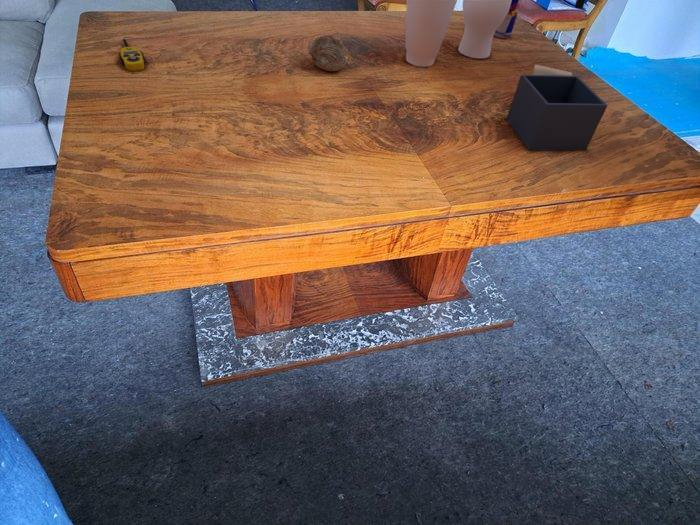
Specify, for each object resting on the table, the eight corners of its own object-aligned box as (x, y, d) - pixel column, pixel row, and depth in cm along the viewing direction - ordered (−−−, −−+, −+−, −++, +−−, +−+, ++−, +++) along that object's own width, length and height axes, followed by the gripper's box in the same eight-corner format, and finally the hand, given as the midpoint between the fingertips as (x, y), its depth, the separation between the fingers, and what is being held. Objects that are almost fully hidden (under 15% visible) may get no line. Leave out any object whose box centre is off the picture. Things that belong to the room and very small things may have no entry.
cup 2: (465, 62, 126) (482, -7, 115) (444, 44, 133) (459, -23, 122) (504, 60, 129) (524, -8, 118) (481, 42, 136) (499, -24, 125)
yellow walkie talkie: (122, 63, 105) (111, 35, 114) (124, 72, 106) (113, 43, 115) (147, 61, 107) (134, 33, 116) (148, 70, 108) (135, 42, 117)
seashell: (315, 79, 113) (348, 74, 115) (314, 48, 108) (349, 43, 110) (303, 60, 119) (335, 55, 121) (302, 29, 114) (335, 25, 116)
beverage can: (495, 38, 139) (512, -22, 129) (489, 31, 143) (506, -28, 132) (512, 39, 140) (531, -20, 129) (506, 32, 144) (524, -27, 133)
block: (524, 94, 116) (535, 64, 111) (560, 102, 115) (572, 72, 110) (521, 109, 110) (532, 78, 106) (558, 118, 109) (571, 87, 104)
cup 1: (451, 70, 122) (468, -2, 111) (405, 72, 119) (418, -2, 108) (432, 49, 130) (446, -19, 119) (389, 51, 127) (399, -20, 115)
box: (586, 150, 100) (607, 105, 94) (528, 150, 98) (546, 104, 92) (559, 118, 109) (577, 75, 102) (506, 118, 107) (521, 74, 100)
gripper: (651, -121, 101) (607, 10, 113) (582, -127, 103) (547, 2, 116) (659, -126, 95) (612, 13, 107) (586, -133, 97) (548, 5, 109)
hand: (578, 7), depth 111 cm, fingers closed
